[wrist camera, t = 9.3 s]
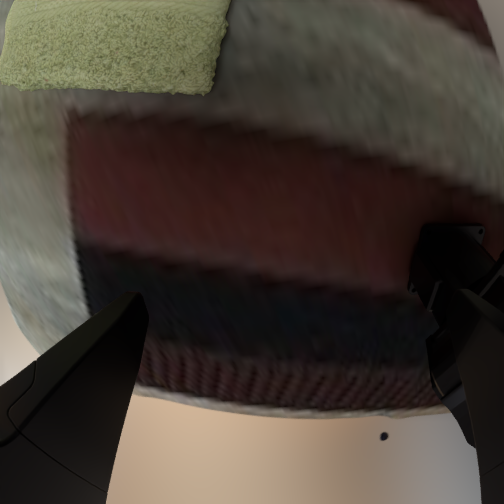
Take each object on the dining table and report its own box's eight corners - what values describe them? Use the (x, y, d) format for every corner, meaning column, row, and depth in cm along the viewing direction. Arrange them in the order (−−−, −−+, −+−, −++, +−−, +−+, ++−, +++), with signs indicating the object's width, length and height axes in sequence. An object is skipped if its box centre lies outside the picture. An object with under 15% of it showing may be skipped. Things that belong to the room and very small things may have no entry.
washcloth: (46, -50, 9) (22, -57, 6) (266, -63, 10) (266, -85, 8) (11, 90, 16) (-16, 97, 13) (212, 109, 17) (201, 116, 15)
